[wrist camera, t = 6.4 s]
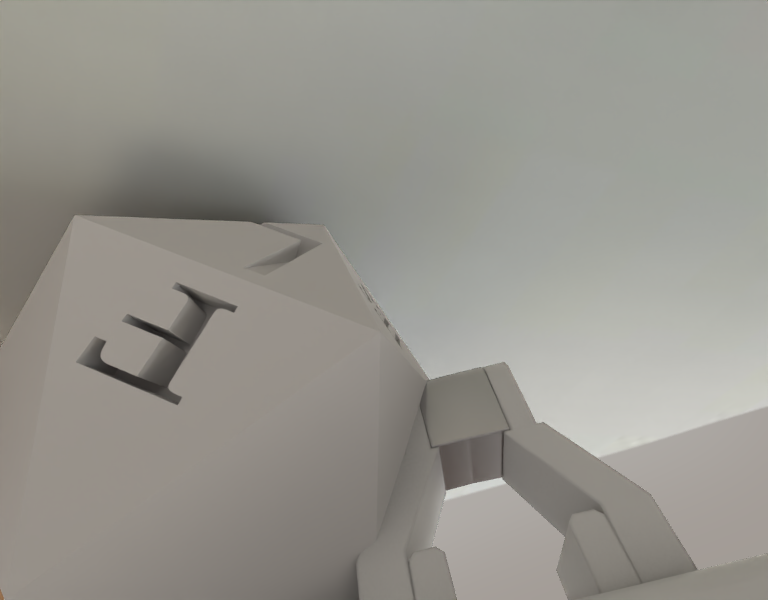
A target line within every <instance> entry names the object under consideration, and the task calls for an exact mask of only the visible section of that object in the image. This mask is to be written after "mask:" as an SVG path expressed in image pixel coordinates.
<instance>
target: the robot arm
mask: <svg viewBox="0 0 768 600" xmlns="http://www.w3.org/2000/svg"><path fill="white" fill-rule="evenodd" d="M426 382H427V383H426V385H425V388H424V391H423V394H422V397H421V401H420V405H419V408H418V411H417V414H416V417H415V421H414V424H413V427H412V430H411V434H410V437H409V440H408V444H407V447H406V450H405V455H404V457H403V460H402V463H401V466H400V469H399V472H398V475H397V478H396V482H395V485H394V488H393V491H392V494H391V497H390V500H389V503H388V506H387V509H386V512H385V515H384V519H383V522H382V525H381V528H380V531H379V534H378V537H377V540H376V541H375V542H374V543H373V544H371V545H370V546H369V547H368V548H366V549H365V550H364V551H363V552H361V553H360V554H359V556H358V559H357V561H356V571H357V581H358V591H359V600H457V598H456V594H455V590H454V586H453V582H452V578H451V575H450V571H449V567H448V563H447V559H446V555H445V552H444V551H442V550H440V549H438V548H437V547H432V545H433V541H434V537H435V533H436V529H437V525H438V522H439V518H440V514H441V510H442V506H443V502H444V499H445V495H446V490H450V489H453V488H457V487H461V486H465V485H468V484H472V483H477V482H482V481H486V480H491V479H496V478H501V477H503V480H504V481H505V482H506V483H507V484H508V485H510V486H511V487H512V488H513V489H514V490H515V491H516V492H517V493H518V494H519V495H520V496H521V497H523V498H524V499H525V500H526V501H527V502H528V503H529V504H530V505H531V506H532V507H534V509H535V510H536V511H538V512H539V513H540V514H541V515H542V516H543V517H544V518H545V519H546V520H547V521H548V522H550V523H551V524H552V525H553V526H554V527H555V528H556V529H557V530H558V531H559V532H560V533H562V534H563V535H564V536H565V540H564V544H563V548H562V551H561V555H560V559H559V562H558V566H557V573H558V576H559V578H560V581H561V583H562V586H563V588H564V591H565V593H566V596H567V598H568V600H768V553H766V554H762V555H758V556H754V557H750V558H746V559H742V560H737V561H733V562H729V563H725V564H721V565H717V566H713V567H708V568H705V569H700V570H697V568H696V566H695V564H694V563H693V561H692V560H691V558H690V557H689V555H688V553H687V552H686V550H685V548H684V547H683V545H682V544H681V542H680V540H679V539H678V537H677V536H676V534H675V532H674V531H673V529H672V528H671V526H670V524H669V523H668V521H667V520H666V518H665V516H664V515H663V513H662V512H661V510H660V509H659V507H658V505H657V504H656V502H655V500H654V499H653V497H652V496H651V494H650V493H648V492H647V491H645V490H644V489H642V488H641V487H639V486H638V485H636V484H635V483H633V482H632V481H630V480H629V479H627V478H626V477H624V476H623V475H621V474H620V473H618V472H617V471H616V470H614V469H612V468H611V467H610V466H608V465H607V464H605V463H604V462H602V461H601V460H599V459H598V458H596V457H595V456H593V455H592V454H590V453H589V452H587V451H586V450H584V449H583V448H581V447H580V446H578V445H577V444H575V443H574V442H572V441H571V440H569V439H568V438H566V437H565V436H563V435H562V434H560V433H559V432H557V431H556V430H554V429H553V428H551V427H550V426H548V425H547V424H545V423H544V422H542V423H536V421H535V419H534V417H533V415H532V413H531V411H530V409H529V407H528V405H527V403H526V401H525V399H524V397H523V395H522V393H521V391H520V389H519V387H518V385H517V383H516V381H515V379H514V377H513V374H512V372H511V370H510V368H509V366H508V365H507V364H506V363H505V362H502V363H498V364H494V365H490V366H486V367H482V368H481V367H479V368H475V369H471V370H467V371H463V372H459V373H455V374H451V375H446V376H442V377H439V378H436V379H431V380H426Z"/></svg>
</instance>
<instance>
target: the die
mask: <svg viewBox="0 0 768 600" xmlns="http://www.w3.org/2000/svg"><path fill="white" fill-rule="evenodd" d="M426 380H429V378H428V377H427V375H426V374H425V372H424V371H423V369H422V368H421V367H420V365H419V364H418V362H417V361H416V359H415V358H414V356H413V355H412V353H411V352H410V350H409V349H408V347H407V346H406V345H405V343H404V342H403V340H402V339H401V337H400V336H399V334H398V333H397V331H396V330H395V328H394V327H393V325H392V324H391V322H390V321H389V320H388V318H387V317H386V315H385V314H384V312H383V311H382V309H381V308H380V306H379V305H378V303H377V302H376V300H375V299H374V298H373V296H372V295H371V293H370V292H369V290H368V289H367V287H366V286H365V284H364V283H363V281H362V280H361V278H360V277H359V275H358V274H357V273H356V271H355V270H354V268H353V267H352V265H351V264H350V262H349V261H348V259H347V258H346V256H345V255H344V253H343V252H342V251H341V249H340V248H339V246H338V245H337V243H336V242H335V240H334V239H333V237H332V236H331V234H330V233H329V231H328V230H327V229H326V227H325V226H324V225H318V224H293V223H267V222H265V223H262V224H259V225H258V224H256V223H253V222H242V221H217V220H191V219H166V218H141V217H115V216H90V215H74V217H73V219H72V220H71V222H70V224H69V226H68V228H67V229H66V231H65V233H64V235H63V237H62V238H61V240H60V242H59V244H58V245H57V247H56V249H55V251H54V253H53V254H52V256H51V258H50V260H49V262H48V263H47V265H46V267H45V269H44V271H43V272H42V274H41V276H40V278H39V280H38V281H37V283H36V285H35V287H34V288H33V290H32V292H31V294H30V296H29V297H28V299H27V301H26V303H25V305H24V306H23V308H22V310H21V312H20V314H19V315H18V317H17V319H16V321H15V323H14V324H13V326H12V328H11V330H10V331H9V333H8V335H7V337H6V339H5V340H4V342H3V344H2V346H1V348H0V589H1V592H2V594H3V597H4V600H359V591H358V581H357V571H356V561H357V559H358V556H359V554H360V553H361V552H363V551H364V550H365V549H366V548H368V547H369V546H370V545H371V544H373V543H374V542H375V541H376V540H377V537H378V534H379V531H380V528H381V525H382V522H383V519H384V515H385V512H386V509H387V506H388V503H389V500H390V497H391V494H392V491H393V488H394V485H395V482H396V478H397V475H398V472H399V469H400V466H401V463H402V460H403V457H404V455H405V450H406V447H407V444H408V440H409V437H410V434H411V430H412V427H413V424H414V421H415V417H416V414H417V411H418V408H419V405H420V401H421V397H422V394H423V391H424V388H425V385H426V383H427V382H426Z"/></svg>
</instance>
